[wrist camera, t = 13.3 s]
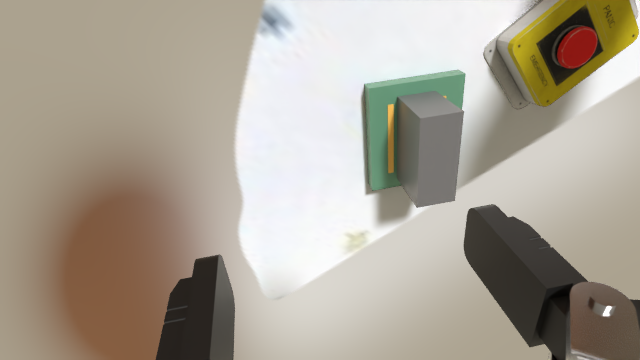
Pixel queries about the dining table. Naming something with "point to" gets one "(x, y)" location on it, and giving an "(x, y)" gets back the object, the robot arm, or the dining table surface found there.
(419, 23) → the dining table surface
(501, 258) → the robot arm
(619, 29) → the emergency button
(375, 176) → the header board
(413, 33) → the dining table surface
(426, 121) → the block
